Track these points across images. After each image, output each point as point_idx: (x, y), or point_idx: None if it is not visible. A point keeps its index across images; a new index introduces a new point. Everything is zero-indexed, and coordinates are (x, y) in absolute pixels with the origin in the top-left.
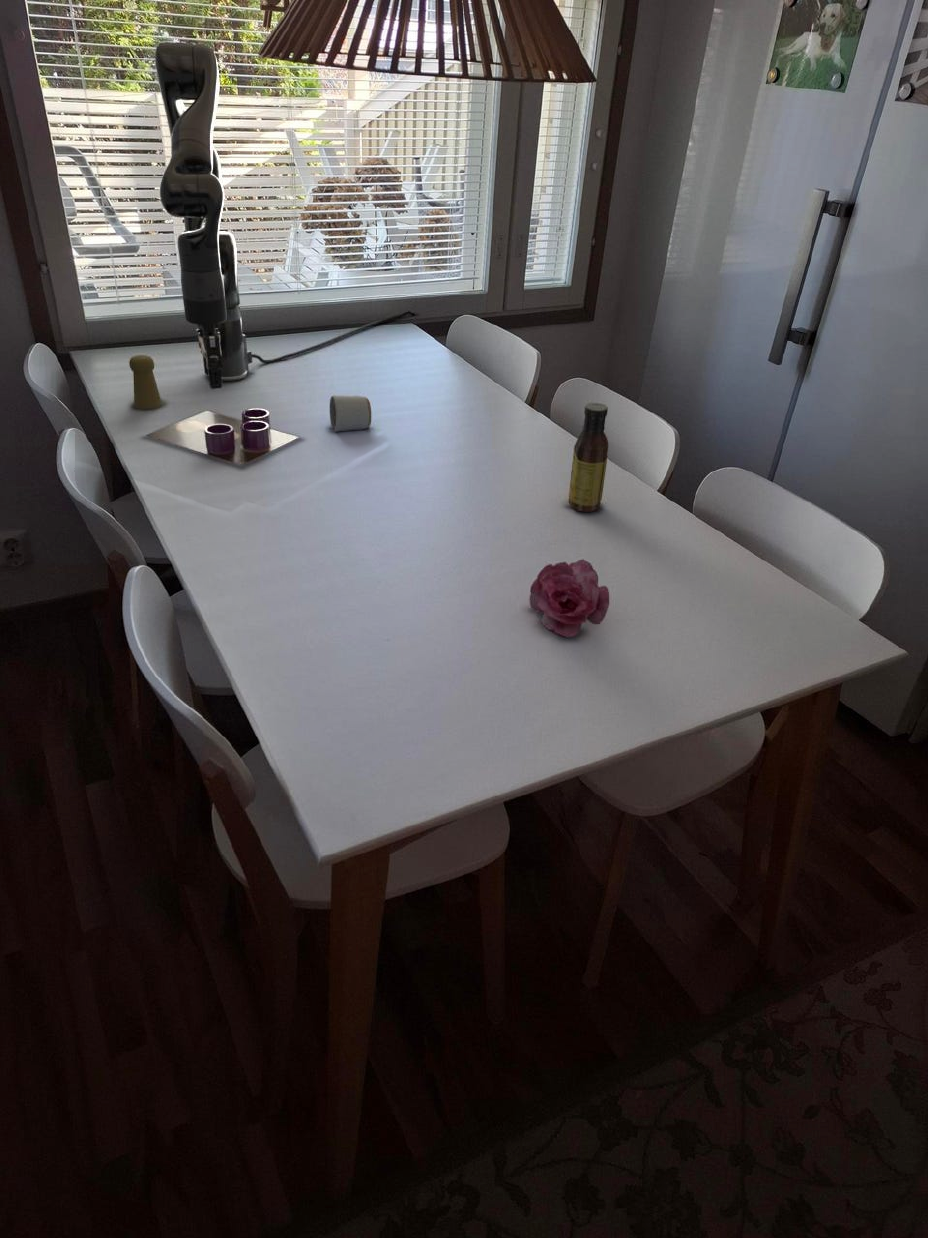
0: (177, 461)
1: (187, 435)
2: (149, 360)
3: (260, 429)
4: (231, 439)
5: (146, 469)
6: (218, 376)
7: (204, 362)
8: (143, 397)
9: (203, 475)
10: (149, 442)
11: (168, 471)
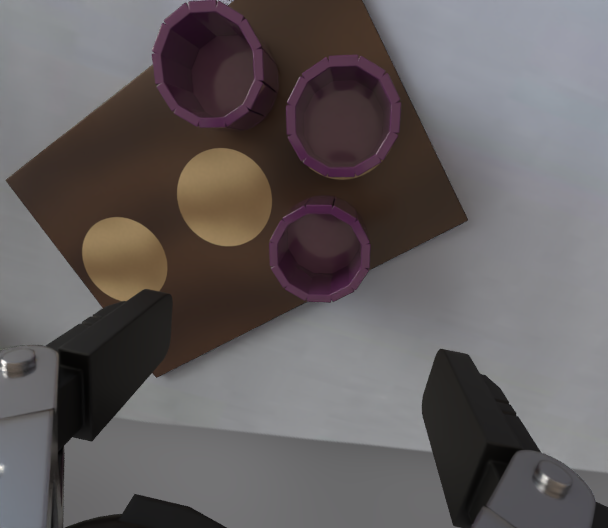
0: (336, 354)
1: (187, 289)
2: None
3: (311, 87)
4: (360, 220)
5: (352, 424)
6: (523, 434)
7: (126, 401)
8: None
9: (456, 326)
10: (191, 375)
11: (387, 388)
